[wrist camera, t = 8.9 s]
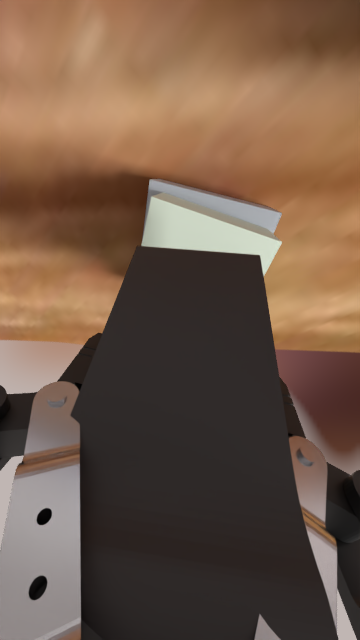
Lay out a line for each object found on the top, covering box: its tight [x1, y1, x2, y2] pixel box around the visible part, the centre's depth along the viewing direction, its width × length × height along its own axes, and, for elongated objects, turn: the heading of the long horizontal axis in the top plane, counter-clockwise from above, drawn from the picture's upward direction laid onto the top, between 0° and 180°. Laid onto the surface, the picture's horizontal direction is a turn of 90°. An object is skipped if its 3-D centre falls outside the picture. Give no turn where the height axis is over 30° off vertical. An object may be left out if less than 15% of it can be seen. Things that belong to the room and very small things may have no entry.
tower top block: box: [141, 192, 282, 277], centre depth 21 cm, size 10×10×5 cm
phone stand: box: [41, 246, 338, 640], centre depth 9 cm, size 9×6×12 cm, turn 177°
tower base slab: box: [142, 179, 282, 241], centre depth 25 cm, size 12×12×5 cm
